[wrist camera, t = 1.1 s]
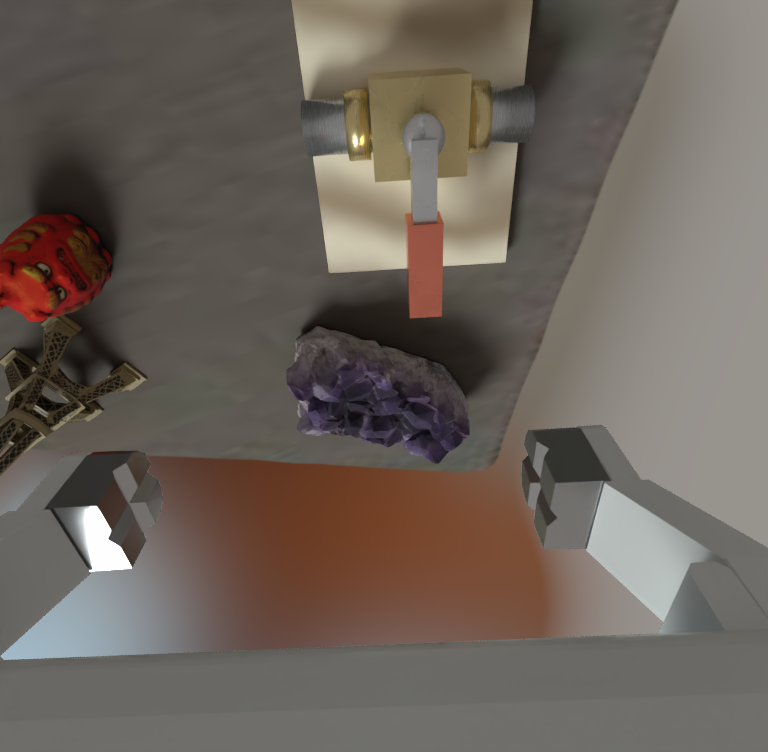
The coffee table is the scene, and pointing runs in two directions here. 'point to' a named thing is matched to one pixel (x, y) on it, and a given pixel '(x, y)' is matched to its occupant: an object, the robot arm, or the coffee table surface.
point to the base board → (351, 70)
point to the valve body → (411, 96)
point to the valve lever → (424, 216)
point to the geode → (376, 394)
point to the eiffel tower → (38, 408)
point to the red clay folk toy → (52, 267)
